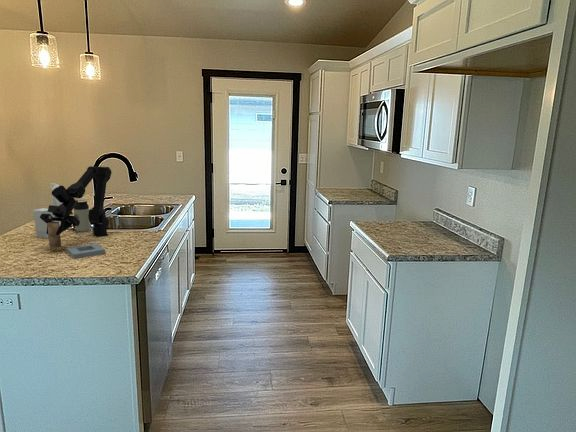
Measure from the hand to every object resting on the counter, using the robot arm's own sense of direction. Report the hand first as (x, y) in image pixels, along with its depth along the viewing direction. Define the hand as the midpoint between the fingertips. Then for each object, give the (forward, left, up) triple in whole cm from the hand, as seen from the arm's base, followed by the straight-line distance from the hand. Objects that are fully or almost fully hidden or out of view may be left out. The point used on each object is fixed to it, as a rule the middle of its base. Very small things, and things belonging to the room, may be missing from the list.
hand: (52, 234), depth 196 cm
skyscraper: (-13, -47, -9) cm, 50 cm away
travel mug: (-23, -39, -9) cm, 46 cm away
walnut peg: (-1, -1, -7) cm, 7 cm away
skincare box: (-3, -34, -9) cm, 35 cm away
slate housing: (-12, +9, -9) cm, 18 cm away
